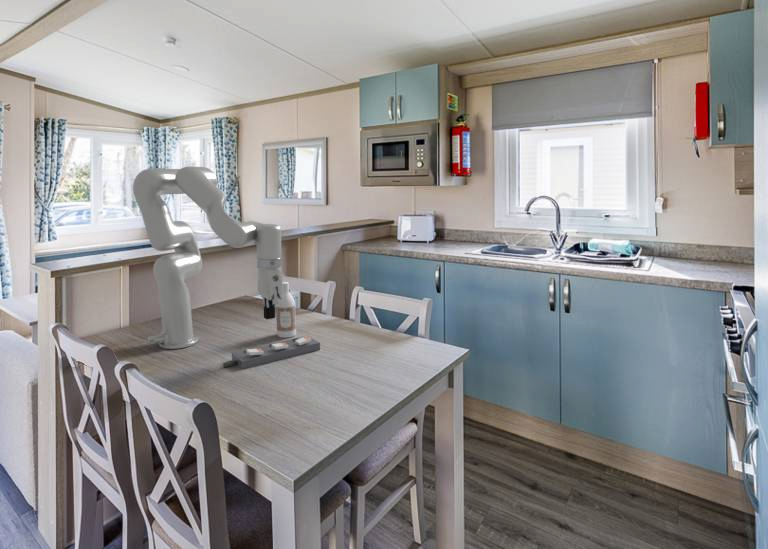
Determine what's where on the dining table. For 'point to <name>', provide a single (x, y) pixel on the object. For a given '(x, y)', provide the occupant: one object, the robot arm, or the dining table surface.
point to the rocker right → (303, 340)
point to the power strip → (272, 353)
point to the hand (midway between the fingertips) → (269, 318)
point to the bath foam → (286, 314)
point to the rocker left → (254, 351)
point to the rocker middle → (279, 346)
